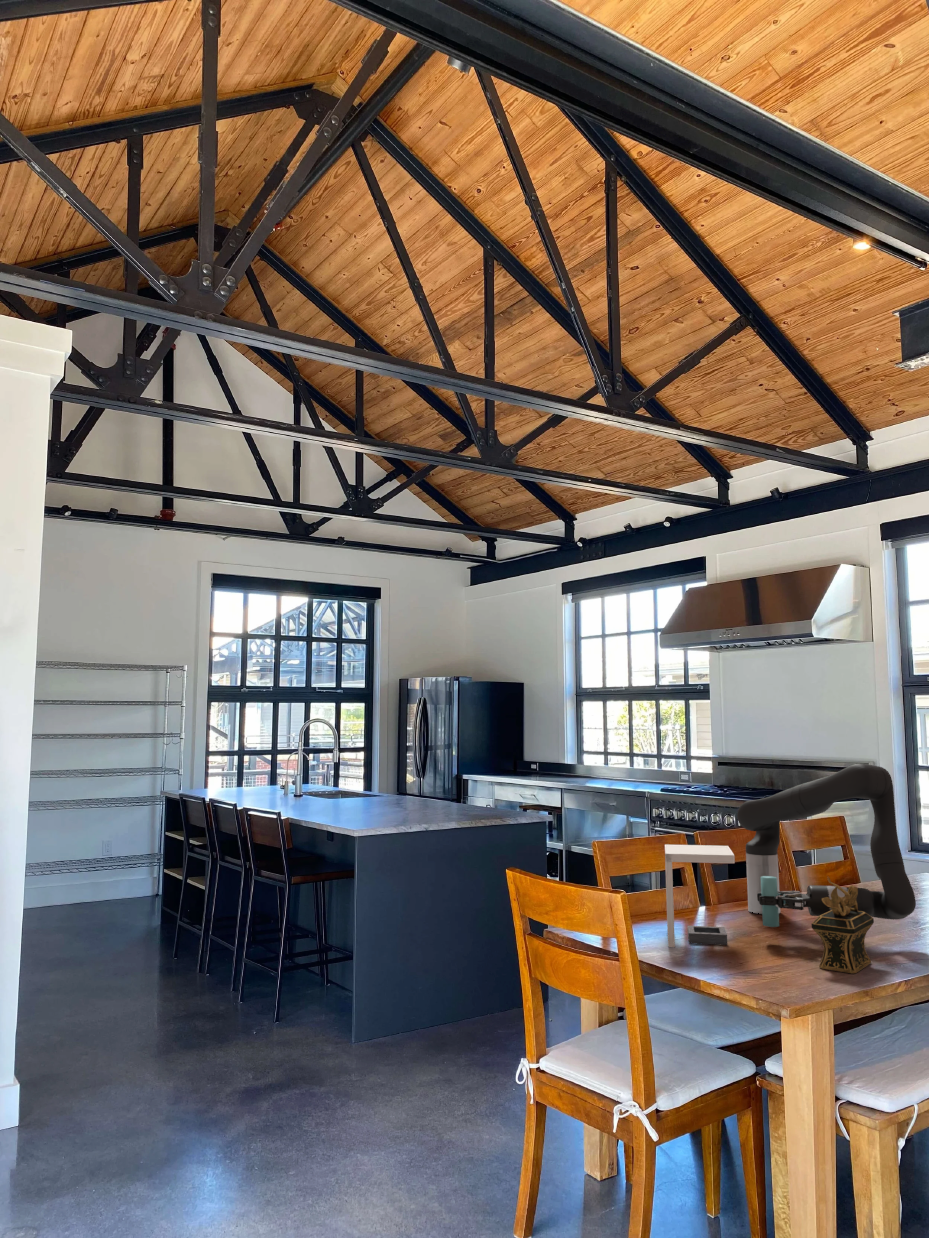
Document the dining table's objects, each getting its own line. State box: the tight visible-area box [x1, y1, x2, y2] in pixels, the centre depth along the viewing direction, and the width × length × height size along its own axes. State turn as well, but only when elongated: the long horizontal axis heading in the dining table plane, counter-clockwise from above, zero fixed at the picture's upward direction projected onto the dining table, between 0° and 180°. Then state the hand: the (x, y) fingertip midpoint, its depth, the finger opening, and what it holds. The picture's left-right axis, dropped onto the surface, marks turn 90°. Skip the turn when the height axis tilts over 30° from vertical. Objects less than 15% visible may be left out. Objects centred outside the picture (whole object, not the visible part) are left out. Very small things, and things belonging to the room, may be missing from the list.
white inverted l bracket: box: [664, 843, 736, 948], centre depth 232 cm, size 20×17×23 cm
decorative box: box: [810, 875, 875, 975], centre depth 204 cm, size 20×10×20 cm, turn 140°
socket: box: [687, 925, 728, 946], centre depth 230 cm, size 10×10×2 cm
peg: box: [761, 876, 780, 928], centre depth 228 cm, size 4×4×12 cm
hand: (758, 898), depth 229 cm, fingers closed on peg, 4 cm apart
